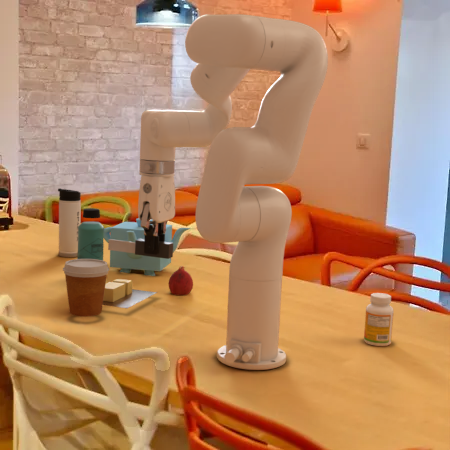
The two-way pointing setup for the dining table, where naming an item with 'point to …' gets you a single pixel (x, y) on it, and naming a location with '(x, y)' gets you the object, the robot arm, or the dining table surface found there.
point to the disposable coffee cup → (85, 285)
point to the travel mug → (69, 222)
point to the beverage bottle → (90, 236)
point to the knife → (141, 248)
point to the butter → (114, 291)
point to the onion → (180, 282)
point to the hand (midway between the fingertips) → (154, 251)
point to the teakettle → (130, 260)
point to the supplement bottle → (379, 320)
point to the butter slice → (127, 285)
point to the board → (130, 299)
